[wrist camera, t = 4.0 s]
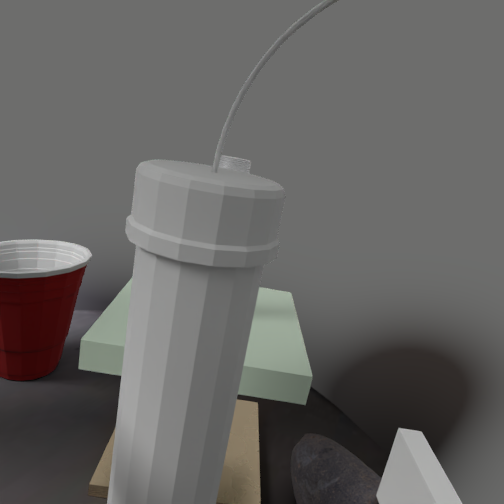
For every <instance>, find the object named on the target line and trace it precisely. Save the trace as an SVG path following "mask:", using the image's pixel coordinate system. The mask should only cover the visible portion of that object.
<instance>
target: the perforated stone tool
mask: <svg viewBox="0 0 504 504" xmlns="http://www.w3.org/2000/svg"><path fill="white" fill-rule="evenodd" d="M291 479H292V486H293V491H294V496H295V499H296V503H297V504H379V502H378V499H377V496H376V495H377V491H378V488H379V485H380V482H381V479H382V478H381V477H380V476H378V475H377V474H376V473H375V472H374V471H373V470H372V469H370V468H369V467H367V466H366V465H365V464H364V463H363V462H362V461H361V460H360V459H359V458H357V457H356V456H355V455H354V454H352V453H351V452H349V451H348V450H347V449H346V448H344V447H343V446H341V445H340V444H338V443H337V442H335V441H333V440H332V439H329V438H327V437H325V436H322V435H319V434H317V433H316V434H315V433H306V434H305V435H304V436H303V438H302V439H301V440H300V441H299V442H298V443H297V444H296V445H295V446H294V448H293V450H292V455H291Z"/></svg>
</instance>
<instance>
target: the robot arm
mask: <svg viewBox="0 0 504 504" xmlns="http://www.w3.org/2000/svg"><path fill="white" fill-rule="evenodd" d="M376 496H377V499H378V502H379V504H462V502H461V500H460V498H459V497H458V495H457V493H456V491H455V490H454V488H453V486H452V484H451V483H450V481H449V479H448V477H447V476H446V474H445V472H444V470H443V468H442V467H441V465H440V463H439V461H438V460H437V458H436V456H435V455H434V453H433V451H432V449H431V447H430V446H429V444H428V442H427V440H426V439H425V437H424V435H423V433H422V432H421V431H415V430H409V429H402V428H399V429H398V431H397V434H396V438H395V440H394V444H393V446H392V449H391V452H390V455H389V458H388V461H387V464H386V467H385V470H384V473H383V476H382V479H381V482H380V485H379V488H378V491H377V495H376Z"/></svg>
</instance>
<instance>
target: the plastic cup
mask: <svg viewBox="0 0 504 504" xmlns="http://www.w3.org/2000/svg"><path fill="white" fill-rule="evenodd" d="M91 257H92V254H91V252H90V251H89V249H87V248H85V247H82V246H80V245H77V244H73V243H68V242H62V241H52V240H13V241H4V242H0V377H3V378H6V379H8V380H18V381H24V380H32V379H37V378H40V377H43V376H46V375H47V374H49V373H50V372H52V371H53V370H55V368H56V366H57V365H58V362H59V360H60V358H61V355H62V351H63V347H64V343H65V339H66V337H67V335H68V332H69V328H70V324H71V319H72V315H73V311H74V307H75V303H76V299H77V295H78V291H79V287H80V286H81V283H82V277H83V275H84V272H85V268H86V266H87V264H88V262H89V261H90V260H91Z"/></svg>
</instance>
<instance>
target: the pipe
mask: <svg viewBox="0 0 504 504" xmlns="http://www.w3.org/2000/svg"><path fill="white" fill-rule="evenodd" d="M337 1H338V0H324V1H323V2H321V3H320V4H318V5H317V6H315V7H314V8H312V9H311V10H310V11H309V12H307V13H306V14H305V15H304V16H302V17H301V18H300V19H299V20H298V21H296V22H295V23H294V24H293V25H292V26H291V27H290V28H289V29H288V30H287V31H285V32H284V33H283V34H282V35H281V36H280V37H279V38H278V39H277V40H276V41H275V43H274V44H273V45H272V46H271V47H270V49H269V50H268V51H267V52H266V53H265V54H264V55H263V57H262V58H261V60H260V61H259V62H258V64H257V65H256V66H255V68H254V69H253V71H252V72H251V74H250V75H249V77H248V79H247V80H246V82H245V83H244V85H243V87H242V88H241V90H240V92H239V94H238V96H237V98H236V100H235V102H234V104H233V106H232V108H231V110H230V113H229V116H228V118H227V120H226V123H225V125H224V128H223V130H222V133H221V137H220V140H219V143H218V146H217V150H216V154H215V158H214V162H213V166H209V165H203V164H197V163H190V162H182V161H172V160H149V161H145V162H142V163H140V164H139V166H138V167H137V169H136V175H135V185H134V194H133V204H132V212H131V215H129V216H128V217H127V221H126V230H125V232H126V234H127V236H128V239H129V241H131V242H132V243H134V244H136V250H135V259H134V269H133V277H132V286H131V295H130V304H129V313H128V322H127V331H126V340H125V349H124V357H123V366H122V375H121V384H120V393H119V402H118V411H117V420H116V429H115V438H114V447H113V456H112V465H111V474H110V482H109V491H108V500H107V504H216V500H217V495H218V490H219V485H220V480H221V475H222V470H223V465H224V460H225V455H226V450H227V445H228V440H229V435H230V430H231V425H232V420H233V415H234V410H235V405H236V400H237V395H238V390H239V385H240V380H241V375H242V370H243V365H244V360H245V356H246V351H247V346H248V341H249V336H250V331H251V326H252V321H253V316H254V311H255V306H256V301H257V296H258V291H259V286H260V281H261V276H262V271H263V266H264V265H266V264H268V263H270V262H271V261H273V260H274V259H276V258H277V254H278V249H279V244H280V243H279V240H278V237H277V235H278V230H279V226H280V220H281V215H282V211H283V206H284V201H285V193H284V189H283V187H282V186H281V185H279V184H278V183H276V182H274V181H272V180H269V179H267V178H263V177H259V176H256V175H252V174H249V173H244V172H240V171H235V170H231V169H226V168H220V167H219V162H220V158H221V154H222V150H223V147H224V143H225V140H226V137H227V134H228V131H229V129H230V126H231V124H232V121H233V119H234V116H235V114H236V112H237V110H238V108H239V106H240V104H241V102H242V100H243V98H244V96H245V94H246V92H247V91H248V89H249V87H250V86H251V84H252V83H253V81H254V79H255V78H256V76H257V74H258V73H259V72H260V70H261V69H262V68H263V66H264V65H265V64H266V62H267V61H268V60H269V59H270V57H271V56H272V55H273V54H274V53H275V52H276V51H277V49H278V48H279V47H280V46H281V45H282V44H283V43H284V42H285V41H286V40H287V39H288V38H289V37H290V36H291V35H292V34H293V33H294V32H295V31H296V30H298V29H299V28H300V27H301V26H303V25H304V24H305V23H306V22H308V21H309V20H310V19H311V18H313V17H314V16H315V15H317V14H318V13H319V12H321V11H322V10H324V9H325V8H327V7H328V6H330V5H332V4H333V3H335V2H337Z"/></svg>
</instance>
